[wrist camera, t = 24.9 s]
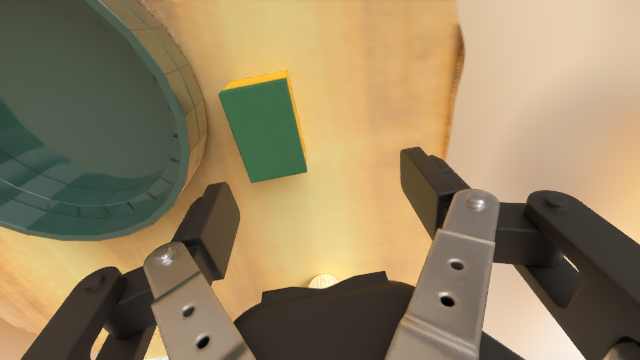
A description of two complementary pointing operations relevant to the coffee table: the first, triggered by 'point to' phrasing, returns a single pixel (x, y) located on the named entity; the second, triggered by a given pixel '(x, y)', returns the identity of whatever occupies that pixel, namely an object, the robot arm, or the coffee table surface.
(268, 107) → the sponge
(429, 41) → the coffee table surface
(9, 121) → the bowl
